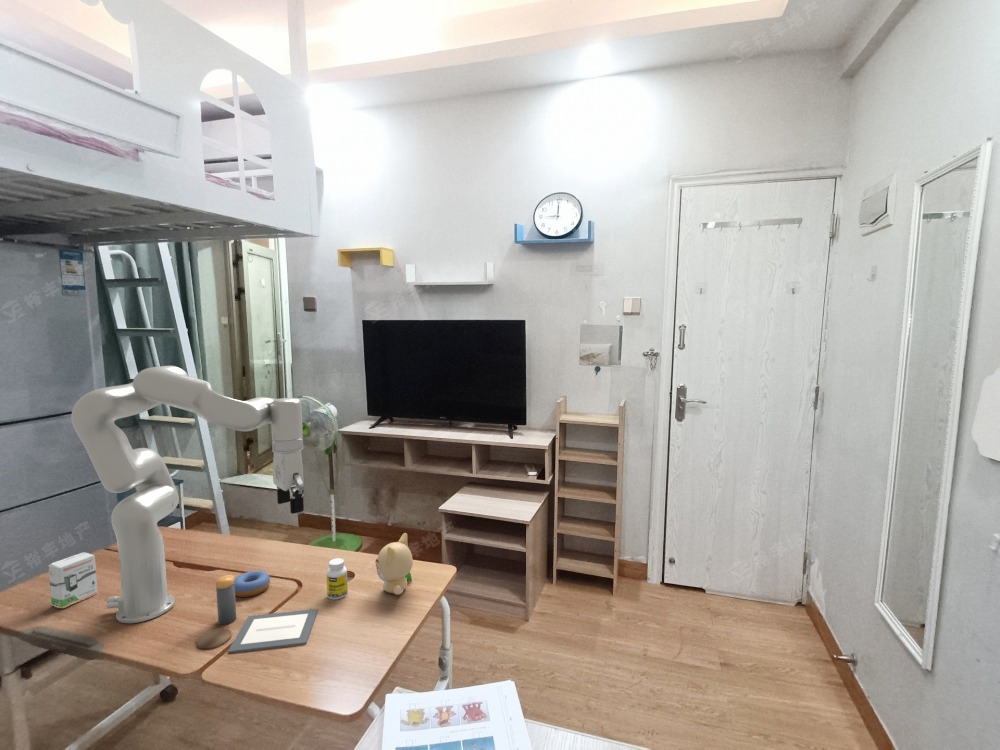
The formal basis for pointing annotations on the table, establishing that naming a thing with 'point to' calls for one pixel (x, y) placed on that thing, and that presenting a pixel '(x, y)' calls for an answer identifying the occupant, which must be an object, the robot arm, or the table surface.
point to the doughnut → (251, 583)
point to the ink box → (72, 579)
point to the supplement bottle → (337, 579)
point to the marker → (226, 599)
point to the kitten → (395, 565)
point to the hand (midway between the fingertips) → (290, 507)
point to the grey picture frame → (274, 631)
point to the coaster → (214, 638)
